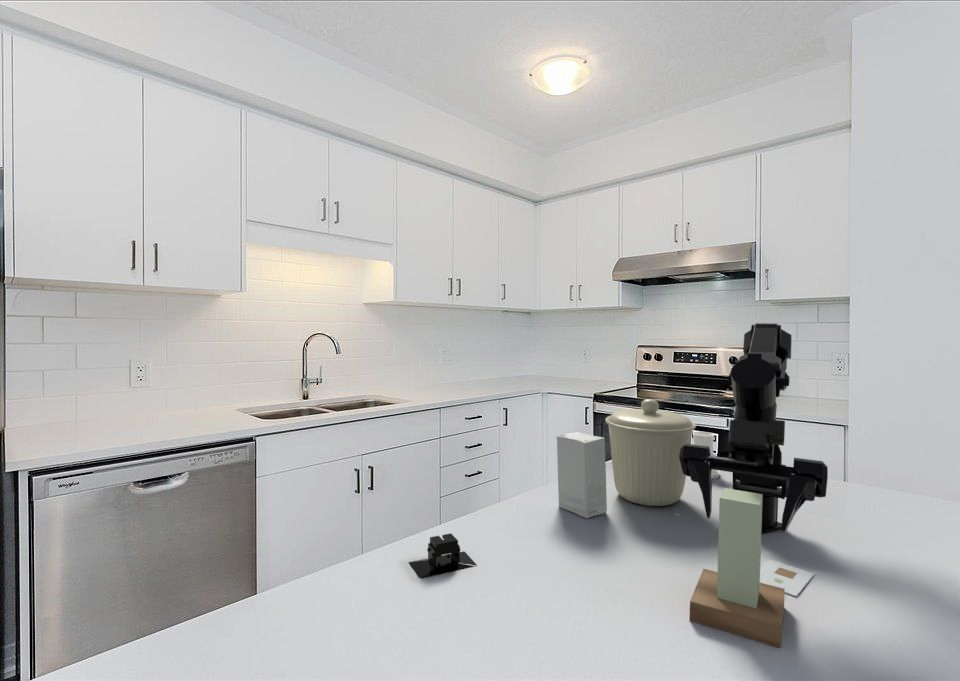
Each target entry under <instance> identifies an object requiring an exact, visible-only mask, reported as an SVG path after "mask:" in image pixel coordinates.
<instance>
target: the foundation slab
mask: <svg viewBox="0 0 960 681" xmlns="http://www.w3.org/2000/svg"><path fill="white" fill-rule="evenodd" d="M717 575H718V571H714V570H711V569H706V568H702V571H701V574H700V576H699V579H698V580H697V583H696V586H695V588H694V590H693V594H692V595H691V598H690V601H689V621H690V622H692V623H696V624H699V625H700V624H701V625H703V626H707V627H710V628H714V629H717V630H720V631H723V632H726V633H730V634H734V635H737V636H740V637H743V638H747V639H750V640H753V641H756V642H759V643H763V644H767V645H768V646H769V645H770V646H773V647H776V648H780V649H781V648H782V637H783V626H784V625H783V624H784V613H785V612H784V610H785V594H786V593H785V589H784V588H779V587H775V586H771V585H767V584H763V583H760V592H759V598H758V603H757V609H756V608H753V607H749V606H745V605H742V604H738V603H734V602H731V601H727V600H723V599H720V598H717Z"/></svg>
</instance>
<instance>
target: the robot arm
mask: <svg viewBox="0 0 960 681" xmlns="http://www.w3.org/2000/svg"><path fill="white" fill-rule="evenodd" d="M792 336H793V335H792V334H791V333H789V332H787V331H785V330H784V329H782V325H781V324H778V323H770V322H769V323H763V322H762V323H760V322H758V323H757V322H756V323H754V324H751V328H750V330H748V331H746V332H745V333H744V336H743V350H742V351H743V355H740V357H738V360H737V361H736V363H735V364H734V365H733V366H732V367H731V369H730V372H729V373H728V385H729V387H731V388H732V396H733V401H734V403H735V407H734V414H733V415H734V416H733V419H731V420H730V421H729V428H728V429H729V431H728V437H727V438H728V439H727V446H726V452H727V454H729V455H728V456H729V457H723V456H721V457H720V456H715V455H713V456H711V453H710V448H709V446H701V445H693V444H685V445H684V446H682V447H681V449H680V454H679V459H680V463H681V467H682V471H683V474H684V475H686V477H690V480H691V481H692V482H694V483H697V484H698V485H699V486H698V487H699V489H700V492H701V494H702V500H703V505H704V510H705V514H706V518H708V519H710V518H711V515H712V505H713V504H712V503H713V502H712V500H713V496H712V495H713V494H712V493H713V492H712V491H713V481H712V479H711V471H712V469H714V470H718V471H720V472H721V471H723V472H729V473H732V489H734V490H740V491H746V492H752V493H758V494H763V499H762V530H761V534H765V533H769V532H773V531H777V530H781V533H782V534H785V533H786V532H787V530H788V528H789V526H790V524H791V523H792V522H793V519H794V517H795V515H796V514H797V512H798V511H799V510H800V508H801V507H802V506H803V505H804V504H805V502H806V501H809V502H813V501H815V500H816V499H815V498H820V499H821V498H826V496H827V487H828V486H827V485H828V467H829V466H828V465H827V464H826V463H825V462H824V461H823V460H817V459H808V458H807V459H806V458H800V457H793V466H788V465H786V464H783V463H782V462H783V456H782V454H783V453H782V451H781V448H780V446H784V445H785V436H786V434H785V432H786V428H785V427H786V421H785V420H780V419H779V420H778V419H777V407H778V404H777V398H779V397H780V394H781V391H783V392H785V390H787V387H789V386H790V381H791V380H790V375H789V374H788V373H787V372H786V371H787V369H788V368H787V365H788V360H792V341H793V340H792V339H793V338H792ZM779 499H781V500H785V503H784V508H783V512H782V516H781V522H780V521H778V516H779V511H778V510H779Z"/></svg>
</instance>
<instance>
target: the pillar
mask: <svg viewBox="0 0 960 681" xmlns="http://www.w3.org/2000/svg"><path fill="white" fill-rule="evenodd" d="M762 499H763V494H758V493H752V492H746V491H740V490H734V489H733V488H729V487H728V488H726V487H724V488H723V490H722V493H721V494H720V496H719V503H718V504H719V507H718V508H719V510H718V512H719V513H718V542H717V544H718V545H717V548H718V549H717V572H718V575H717V598H720V599H723V600H727V601H731V602H734V603H738V604H742V605H745V606H749V607H753V608H756V609H757V603H758V598H759V592H760V569H761V559H762V558H761V557H762V556H761V555H762V554H761V553H762V533H761V530H762Z"/></svg>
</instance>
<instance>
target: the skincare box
mask: <svg viewBox="0 0 960 681" xmlns="http://www.w3.org/2000/svg"><path fill="white" fill-rule="evenodd" d="M605 439H606V438H605V437H602V436H596V435H592V434H587V433H583V432H578V431H574V432H568V433H564V434H558V435H556V450H557V452H556V454H557V486H558V488H557V489H558V491H557V492H558V493H557V494H558V507H559V508H561V509H563V510H566V511H569V512H571V513H574V514H575V515H578V516H580V517H583V518H585V519H589V518H591V517H594V516H595V517H596V516H600V515H603V514H604V515H605V514H607V511H608V503H607V499H608V498H607V473H606V472H607V470H606V469H607V467H606V465H607V464H606V440H605Z"/></svg>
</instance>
